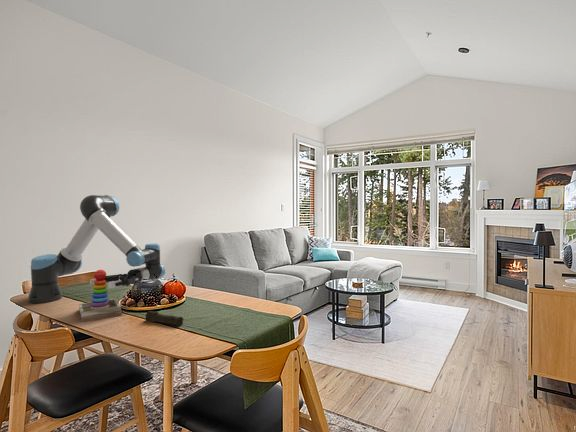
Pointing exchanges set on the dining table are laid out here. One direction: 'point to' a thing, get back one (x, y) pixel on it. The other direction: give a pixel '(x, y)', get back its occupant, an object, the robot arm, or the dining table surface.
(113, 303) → the grey wooden tray
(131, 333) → the dining table surface
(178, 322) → the hand tool
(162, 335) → the dining table surface
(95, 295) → the stacking toy
